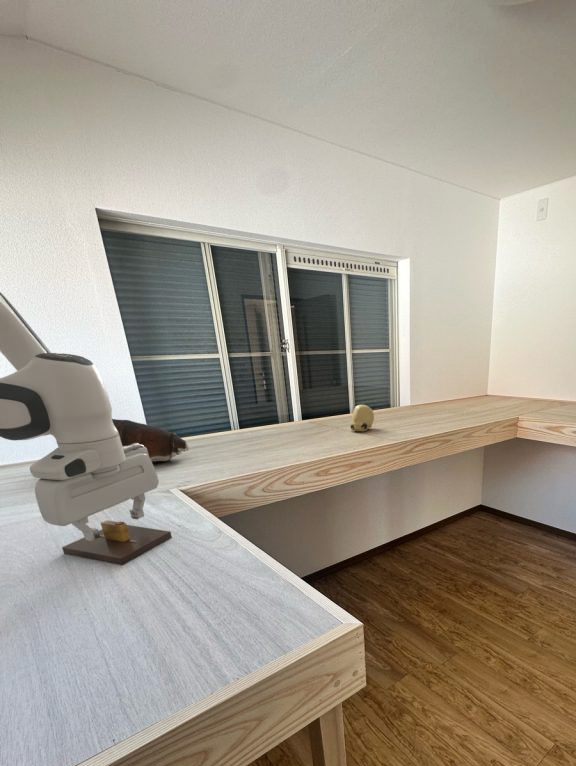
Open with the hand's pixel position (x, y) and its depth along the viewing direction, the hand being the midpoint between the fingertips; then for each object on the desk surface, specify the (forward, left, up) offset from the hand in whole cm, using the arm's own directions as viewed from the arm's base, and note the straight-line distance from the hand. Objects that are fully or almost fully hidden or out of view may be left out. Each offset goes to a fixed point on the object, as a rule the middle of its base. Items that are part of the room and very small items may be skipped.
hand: (116, 527), depth 76 cm
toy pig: (+3, +116, -5) cm, 116 cm away
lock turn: (0, 0, -2) cm, 2 cm away
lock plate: (0, 0, -5) cm, 5 cm away
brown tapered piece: (-46, +50, -5) cm, 68 cm away
